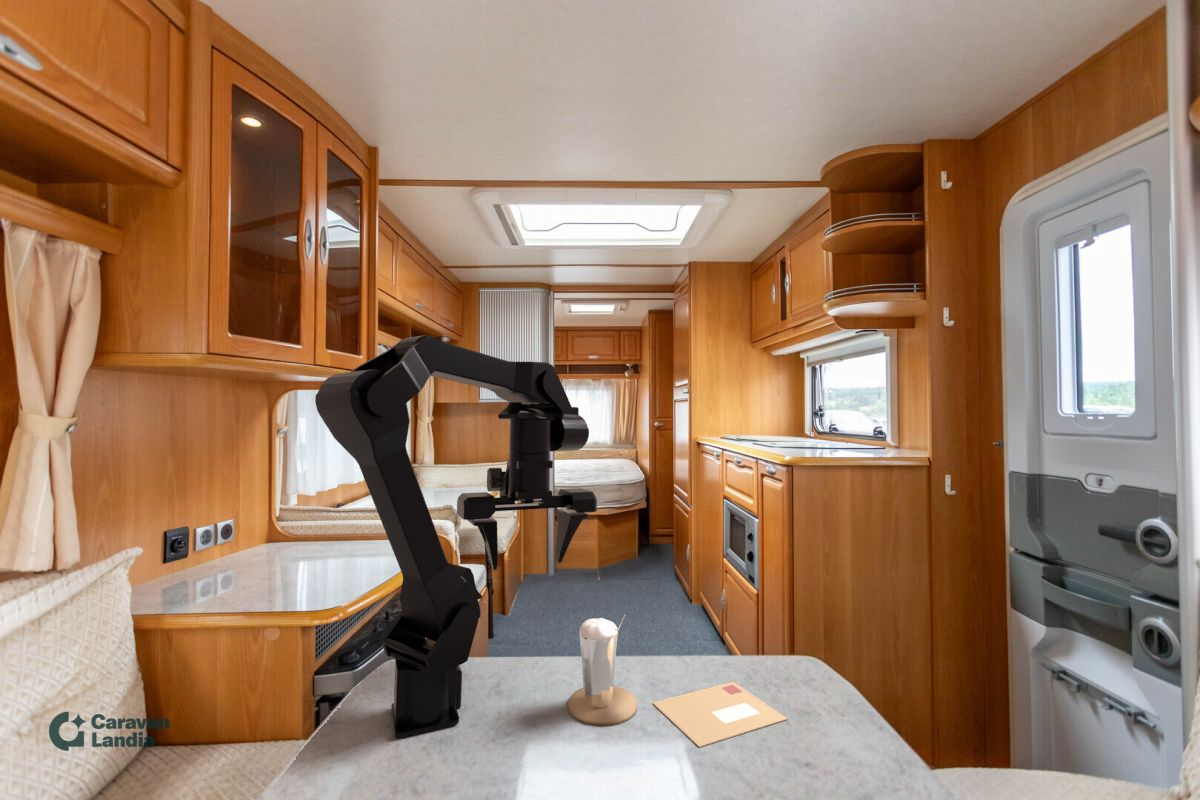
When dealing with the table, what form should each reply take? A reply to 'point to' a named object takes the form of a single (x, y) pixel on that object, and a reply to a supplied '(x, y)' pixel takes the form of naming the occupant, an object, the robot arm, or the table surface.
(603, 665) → the milkshake
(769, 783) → the table surface
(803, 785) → the table surface
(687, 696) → the envelope
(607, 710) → the coaster
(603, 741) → the table surface
